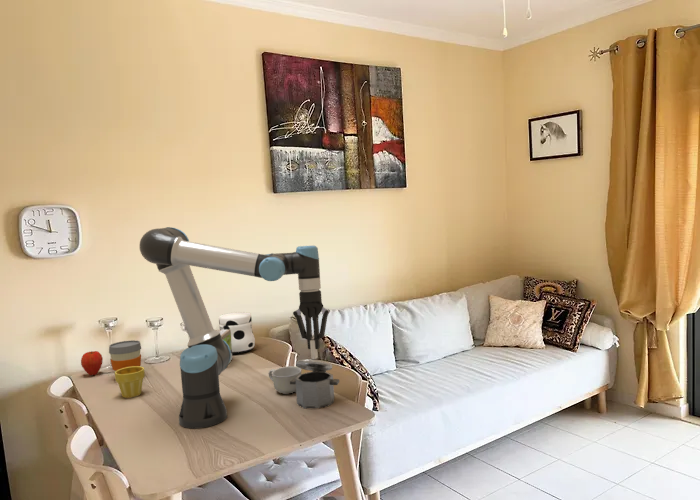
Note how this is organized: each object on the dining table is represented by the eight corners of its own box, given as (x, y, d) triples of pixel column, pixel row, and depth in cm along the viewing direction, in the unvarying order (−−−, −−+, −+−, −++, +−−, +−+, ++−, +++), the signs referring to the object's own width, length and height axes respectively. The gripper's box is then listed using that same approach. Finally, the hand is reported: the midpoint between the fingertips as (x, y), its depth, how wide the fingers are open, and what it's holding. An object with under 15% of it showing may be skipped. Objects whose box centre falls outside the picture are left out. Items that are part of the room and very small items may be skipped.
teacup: (308, 390, 199) (307, 369, 199) (286, 398, 192) (284, 376, 191) (284, 383, 209) (283, 363, 208) (262, 391, 201) (260, 370, 201)
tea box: (225, 369, 233) (222, 335, 232) (202, 370, 234) (199, 337, 232) (233, 359, 248) (230, 328, 247) (211, 361, 249) (209, 329, 247)
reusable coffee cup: (108, 379, 229) (105, 344, 228) (139, 372, 236) (136, 338, 235) (115, 385, 219) (112, 349, 218) (147, 378, 226) (144, 343, 225)
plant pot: (135, 400, 199) (133, 374, 199) (111, 399, 202) (108, 374, 201) (151, 390, 210) (149, 366, 209) (127, 390, 212) (125, 365, 211)
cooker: (334, 409, 178) (333, 382, 178) (286, 408, 182) (285, 381, 181) (344, 395, 191) (342, 370, 191) (299, 394, 195) (297, 369, 194)
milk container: (261, 346, 270) (258, 311, 269) (246, 356, 253) (243, 318, 252) (229, 346, 274) (226, 311, 273) (213, 356, 257) (210, 318, 256)
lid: (326, 361, 179) (327, 355, 180) (290, 361, 182) (291, 355, 183) (335, 371, 190) (336, 365, 191) (301, 371, 193) (302, 364, 194)
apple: (84, 379, 230) (82, 354, 229) (80, 375, 236) (77, 351, 236) (106, 375, 235) (103, 350, 234) (101, 371, 242) (98, 347, 241)
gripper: (331, 288, 188) (335, 355, 188) (295, 289, 191) (299, 356, 191) (325, 290, 180) (330, 360, 181) (288, 292, 183) (293, 361, 184)
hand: (314, 358), depth 186 cm, fingers closed
